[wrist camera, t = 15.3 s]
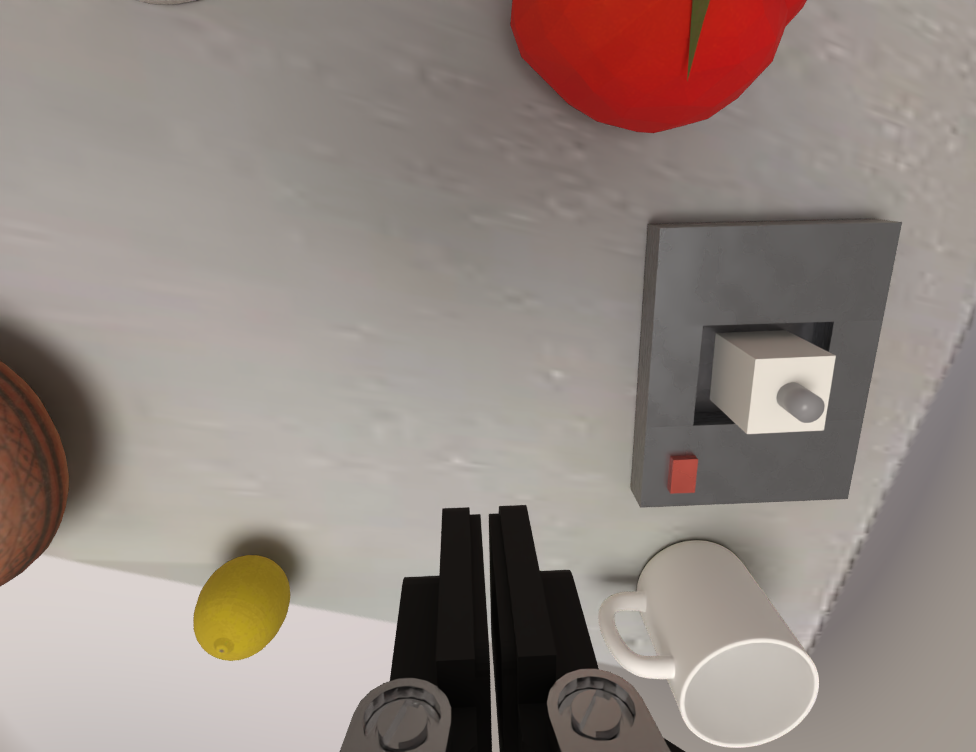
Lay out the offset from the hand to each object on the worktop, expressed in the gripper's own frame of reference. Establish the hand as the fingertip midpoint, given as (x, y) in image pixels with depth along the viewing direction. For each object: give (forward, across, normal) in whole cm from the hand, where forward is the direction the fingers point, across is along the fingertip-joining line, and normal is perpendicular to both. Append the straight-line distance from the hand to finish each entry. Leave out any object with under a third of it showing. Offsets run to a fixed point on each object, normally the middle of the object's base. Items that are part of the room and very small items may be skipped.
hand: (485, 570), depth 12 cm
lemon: (+27, +15, +19) cm, 36 cm away
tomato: (+27, -9, -15) cm, 32 cm away
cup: (+27, -14, +22) cm, 38 cm away
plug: (+27, -18, +5) cm, 33 cm away
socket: (+27, -18, +5) cm, 33 cm away
